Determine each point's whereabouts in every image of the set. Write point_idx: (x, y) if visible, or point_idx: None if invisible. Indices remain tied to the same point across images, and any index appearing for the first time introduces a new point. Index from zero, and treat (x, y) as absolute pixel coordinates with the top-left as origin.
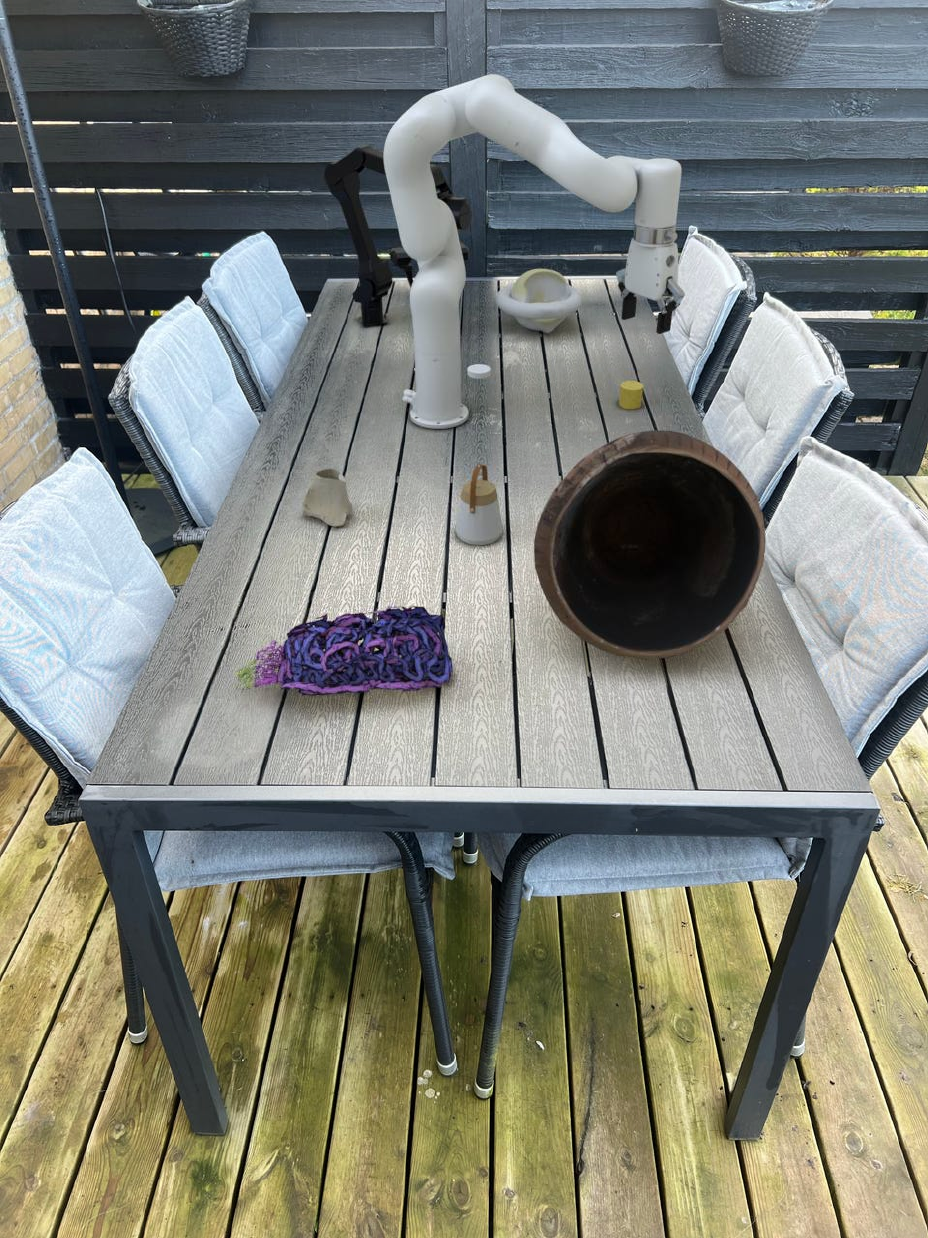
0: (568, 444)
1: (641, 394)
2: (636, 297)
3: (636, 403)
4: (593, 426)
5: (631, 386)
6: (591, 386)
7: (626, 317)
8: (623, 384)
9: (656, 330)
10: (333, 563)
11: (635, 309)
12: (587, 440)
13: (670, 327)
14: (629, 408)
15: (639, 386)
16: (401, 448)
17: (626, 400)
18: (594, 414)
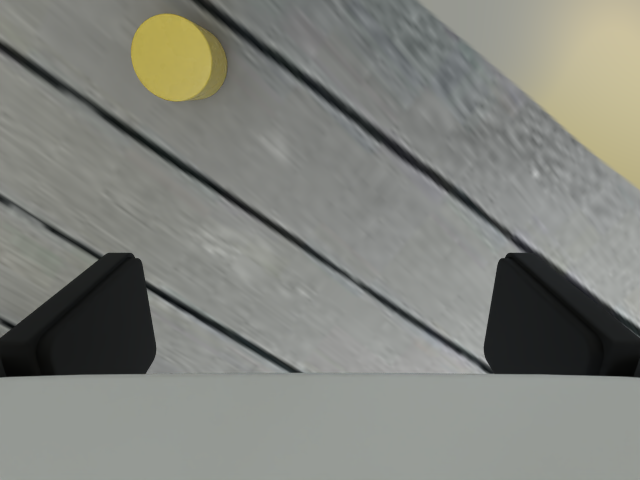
0: (292, 342)
1: (214, 45)
2: (34, 340)
3: (223, 69)
4: (250, 242)
5: (180, 69)
6: (15, 66)
7: (150, 345)
8: (151, 80)
9: (488, 362)
10: None
11: (114, 284)
12: (302, 300)
13: (539, 260)
14: (218, 89)
15: (194, 43)
16: None
17: (202, 97)
18: (193, 194)
